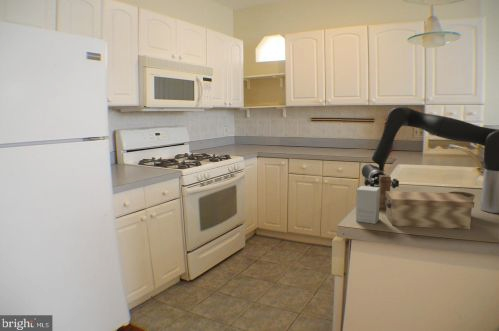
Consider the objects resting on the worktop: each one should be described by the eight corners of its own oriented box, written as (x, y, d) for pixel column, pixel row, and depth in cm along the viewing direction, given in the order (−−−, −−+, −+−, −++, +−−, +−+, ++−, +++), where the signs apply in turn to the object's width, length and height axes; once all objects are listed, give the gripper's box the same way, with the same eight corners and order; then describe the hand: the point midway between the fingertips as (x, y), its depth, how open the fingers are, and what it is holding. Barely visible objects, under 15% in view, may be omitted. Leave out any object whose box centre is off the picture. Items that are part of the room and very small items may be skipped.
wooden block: (387, 206, 157) (389, 175, 155) (389, 209, 153) (391, 177, 151) (377, 206, 158) (379, 175, 156) (379, 209, 154) (380, 176, 152)
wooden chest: (452, 213, 147) (454, 189, 145) (474, 229, 127) (476, 202, 125) (379, 210, 152) (380, 186, 151) (388, 225, 132) (390, 199, 130)
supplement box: (379, 219, 140) (381, 187, 138) (375, 224, 134) (376, 191, 132) (360, 216, 144) (361, 185, 142) (355, 221, 137) (356, 189, 135)
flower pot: (460, 219, 139) (462, 197, 137) (440, 213, 148) (442, 192, 146) (479, 217, 141) (481, 195, 140) (459, 211, 150) (461, 190, 149)
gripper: (362, 170, 171) (367, 176, 156) (394, 170, 169) (402, 177, 153) (361, 185, 173) (366, 193, 157) (393, 186, 170) (401, 194, 154)
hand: (383, 185), depth 155 cm, fingers open, 8 cm apart
